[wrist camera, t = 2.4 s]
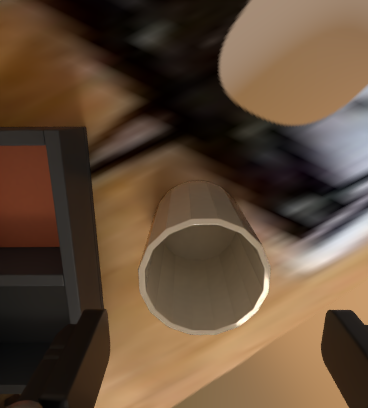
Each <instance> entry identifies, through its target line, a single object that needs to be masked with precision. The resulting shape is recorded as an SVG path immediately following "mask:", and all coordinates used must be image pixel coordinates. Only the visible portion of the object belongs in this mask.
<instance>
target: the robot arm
mask: <svg viewBox="0 0 368 408" xmlns="http://www.w3.org/2000/svg"><path fill="white" fill-rule="evenodd" d="M321 352H322V357H323V361H324V363H325V365H326V367H327V368H328V370H329V372H330V374H331V376H332V378H333V379H334V381H335V383H336V385H337V387H338V388H339V390H340V392H341V394H342V396H343V397H344V399H345V401H346V403H347V405H348V406H349V408H368V325H364V324H363V323H362V321H361V320H360V319H359V318H358V317H357V315H356V314H355V313H354V312H353V311H351V310H328V311H327V313H326V317H325V323H324V330H323V336H322V343H321ZM109 356H110V336H109V325H108V314H107V310H106V309H85V310H84V311H83V313H82V315H81V317H80V318H79V320H78V322H77V324H68V325H67V326H65V327H64V328H63V329H62V330H61V331H60V332H59V333H57V334H56V336H55V338H54V339H53V341H52V343H51V344H50V346H49V349H48V350H47V351H46V353H45V355H44V356H43V360H41V361H40V363H39V365H38V366H37V368H36V370H35V372H34V373H33V375H32V377H31V378H30V380H29V382H28V383H27V385H26V387H25V388H24V390H23V392H22V394H21V395H20V397H19V399H18V400H17V402H16V403H13V404H11V405H9V406H7V407H5V408H94V406H95V403H96V400H97V396H98V393H99V390H100V387H101V384H102V381H103V377H104V374H105V371H106V368H107V365H108V361H109Z"/></svg>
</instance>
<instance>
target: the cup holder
mask: <svg viewBox="0 0 368 408" xmlns="http://www.w3.org/2000/svg"><path fill="white" fill-rule="evenodd" d="M85 309H104V306H103V295H102V285H101V275H100V265H99V254H98V244H97V234H96V224H95V213H94V203H93V193H92V183H91V172H90V162H89V152H88V141H87V131H86V127H0V394H22V392H23V390H24V388H25V387H26V385H27V383H28V382H29V380H30V378H31V377H32V375H33V373H34V372H35V370H36V368H37V366H38V365H39V363H40V361H41V360H43V356H44V355H45V353H46V351H47V350H48V349H49V346H50V344H51V343H52V341H53V339H54V338H55V336H56V334H57V333H59V332H60V331H61V330H62V329H63V328H64V327H65V326H67V325H68V324H77V322H78V320H79V318H80V317H81V315H82V313H83V311H84V310H85Z"/></svg>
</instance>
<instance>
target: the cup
mask: <svg viewBox="0 0 368 408" xmlns="http://www.w3.org/2000/svg"><path fill="white" fill-rule="evenodd" d="M138 272H139V290H140V294H141V295H142V297H143V299H144V301H145V303H146V305H147V307H148V309H149V311H150V312H151V313H152V314H153V315H154V316H156V317H157V318H158V319H159V320H160V321H162V322H163V323H164V324H165V325H167V326H168V327H170V328H173V329H175V330H178V331H181V332H184V333H187V334H190V335H191V334H192V335H217V334H219V333H222V332H225V331H228V330H231V329H234V328H237V327H239V326H240V325H242V324H243V323H244V322H245V321H247V320H248V319H249V318H250V317H252V316H253V315H254V314H255V313H257V311H258V310H259V308H260V306H261V305H262V303H263V301H264V299H265V297H266V296H267V294H268V292H269V285H270V274H271V267H270V264H269V262H268V259H267V256H266V254H265V251H264V248H263V246H262V244H261V243H260V241H259V239H258V238H257V236H256V234H255V233H254V231H253V229H252V228H251V226H250V224H249V223H248V221H247V220H246V218H245V216H244V215H243V213H242V211H241V210H240V208H239V206H238V205H237V203H236V201H235V200H234V199H233V198H232V197H231V196H230V195H229V193H228V192H226V191H225V190H224V189H223V188H221V187H220V186H218V185H215V184H213V183H210V182H206V181H190V182H185V183H182V184H180V185H178V186H176V187H174V188H172V189H171V190H170V191H169V192H167V193H166V194H165V195H164V197H163V198H162V199H161V201H160V202H159V204H158V207H157V209H156V212H155V215H154V217H153V221H152V224H151V228H150V231H149V234H148V238H147V241H146V245H145V248H144V251H143V255H142V258H141V262H140V265H139V269H138Z"/></svg>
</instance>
